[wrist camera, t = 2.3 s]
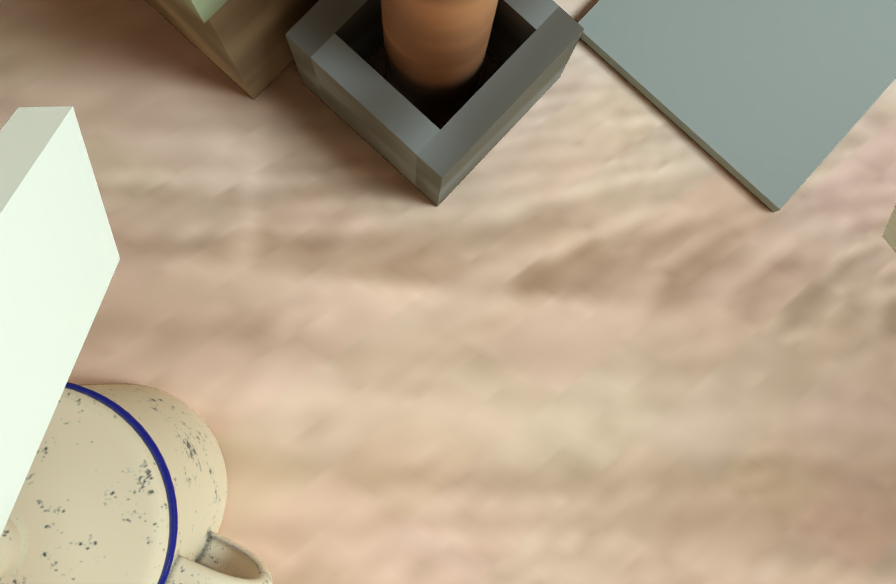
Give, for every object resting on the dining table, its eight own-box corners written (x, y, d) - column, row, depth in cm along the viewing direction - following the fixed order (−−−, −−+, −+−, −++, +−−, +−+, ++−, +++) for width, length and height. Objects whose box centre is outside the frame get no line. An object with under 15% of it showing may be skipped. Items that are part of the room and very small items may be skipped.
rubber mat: (572, 31, 36) (575, 25, 35) (743, -149, 37) (749, -157, 37) (773, 212, 35) (780, 209, 35) (939, 24, 37) (948, 18, 36)
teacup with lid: (-32, 549, 32) (-277, 647, 21) (71, 343, 33) (-107, 325, 22) (241, 670, 32) (149, 834, 21) (336, 459, 33) (298, 503, 22)
